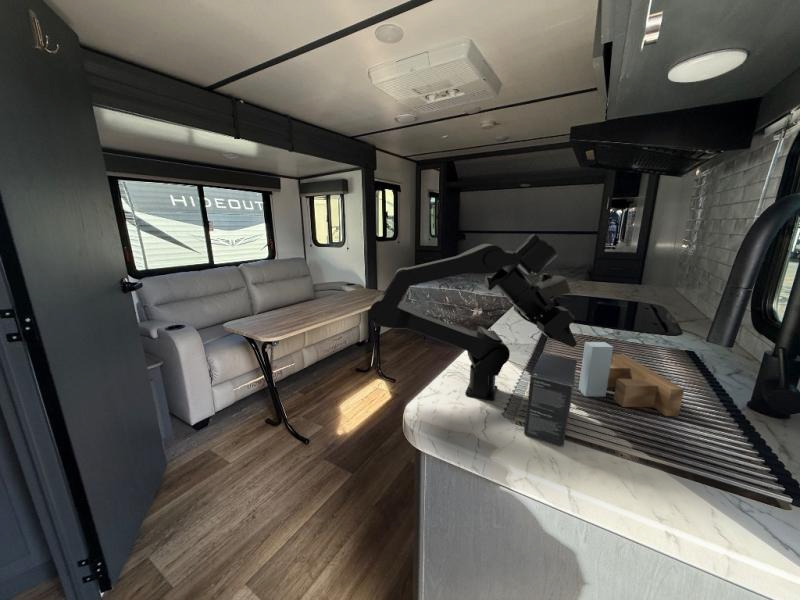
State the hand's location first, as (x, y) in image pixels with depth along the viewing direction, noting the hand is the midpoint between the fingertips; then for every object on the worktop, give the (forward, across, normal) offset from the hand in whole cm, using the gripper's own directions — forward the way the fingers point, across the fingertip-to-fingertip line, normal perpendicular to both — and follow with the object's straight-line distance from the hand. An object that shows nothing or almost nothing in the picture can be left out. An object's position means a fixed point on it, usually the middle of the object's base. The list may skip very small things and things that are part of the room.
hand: (564, 338), depth 70 cm
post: (+15, 0, +4) cm, 16 cm away
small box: (+4, -12, +15) cm, 19 cm away
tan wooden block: (+20, 0, -2) cm, 21 cm away
